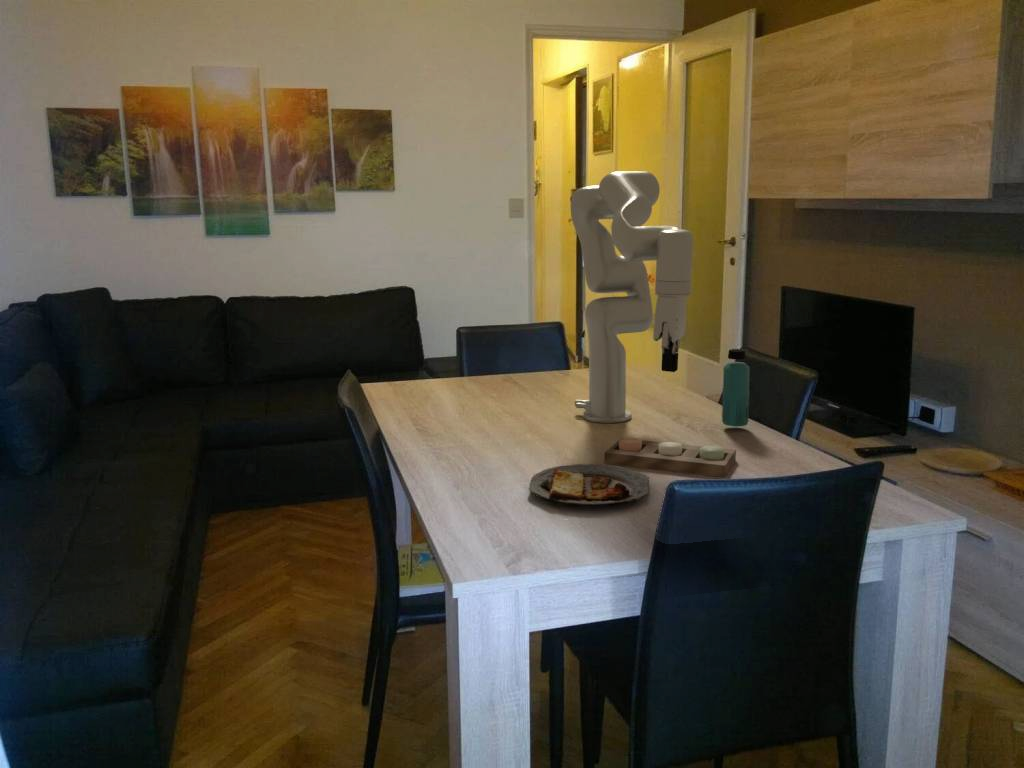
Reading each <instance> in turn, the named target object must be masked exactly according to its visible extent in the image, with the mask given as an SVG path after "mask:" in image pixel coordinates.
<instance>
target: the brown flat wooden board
mask: <svg viewBox="0 0 1024 768" xmlns="http://www.w3.org/2000/svg"><path fill="white" fill-rule="evenodd" d="M620 439H624V438H623V437H622V438H620ZM620 439H619V440H620ZM619 440H617V441H616V442H615V443H614V444H613V445H611V446H610V447H609V448H608V449H606V451H604V461H603V462H604V463H603V464H604V465H607V464H608V465H613V466H624V467H633V468H634V467H635V468H643V469H650V470H651V469H652V470H659V471H666V472H667V471H668V472H669V471H670V472H676V473H686V474H693V475H695V474H696V475H703V476H711V477H713V476H714V477H719V476H722V477H723V478H725V477H726V476H727V475H728V473H729V472H730V470H731V468H732V467H733V465H734V464H735V462H736V461H737V460H736V459H737V450H736V449H731V448H723V447H722V448H723V449H724V460H723V461H720V460H710V459H701V458H700V448H701V447H704V446H705V445H704V446H702V445H694V444H693V445H692V444H683V443H682V444H681V443H680V444H681V445H682V455H681V456H673V455H663V454H659V444H660V443H663V442H664V441H663V442H662V441H654V440H653V441H652V440H643V439H640V440H641V441H642V450H641V451H640V452H635V451H626V450H619ZM722 477H721V478H722Z"/></svg>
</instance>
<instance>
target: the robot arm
mask: <svg viewBox="0 0 1024 768" xmlns="http://www.w3.org/2000/svg"><path fill="white" fill-rule="evenodd" d="M659 183H660V182H659V181H658V179H657V177H656V176H655V175H654V174H653V173H651V172H650V171H645V170H644V171H643V170H642V171H640V170H638V171H634V170H632V171H631V170H629V171H626V170H625V171H623V170H622V171H621V170H619V171H614V172H610V173H607V174H606V175H605V176H604V177H602V179H601V180H600V182H599V185H588V186H583V187H580V188H578V189H576V190H575V191H574V192H573V194H572V196H571V199H570V216H571V220H572V224H573V227H574V230H575V232H576V235H577V237H578V240H579V242H580V246H581V255H582V261H583V268H584V276H585V280H586V281H585V282H586V285H587V288H588V290H590V292H592V293H594V294H613V293H614V294H615V293H616V294H618V293H626V295H627V296H623V295H622V296H618V295H617V296H607V297H606V296H603V297H599V298H595V299H593V300H591V301H590V302H588V304H587V305H586V307H585V311H584V312H585V313H584V316H585V317H584V318H585V324H586V329H587V338H588V367H589V368H588V369H589V370H588V372H589V373H588V377H589V378H588V382H589V383H588V384H589V385H588V387H589V388H588V389H589V390H588V392H589V393H588V394H589V395H588V399H587V398H586V400H583V399H579V398H578V399H577V398H576V399H575V401H574V406H575V408H576V409H584V411H583V413H582V415H583V418H584V419H585V420H587V421H589V422H593V423H600V424H601V423H603V424H604V423H605V424H607V423H609V424H612V423H613V424H614V423H622V422H627V421H629V420H630V419H632V412H631V410H627V409H626V406H627V405H626V400H627V398H626V395H627V394H626V393H627V392H626V390H627V389H626V387H627V386H626V385H627V383H626V381H627V378H626V377H627V352H626V347H625V346H624V345H623V343H622V342H621V341H620V340H619V338H618V335H621V334H632V333H634V334H635V333H643V332H646V331H648V330H649V329H651V326H652V325H653V336H652V339H653V341H655V342H658V341H659V340H661V371H662V372H670V373H675V372H677V371H678V367H679V366H678V365H679V348H680V347H679V346H680V339H681V338H683V336H684V335H685V334H686V327H687V326H686V325H687V297H690V296H691V295H692V274H693V272H692V271H693V254H694V253H693V252H694V234H693V232H691V230H687V229H682V228H680V227H678V226H676V225H645V224H646V222H648V221H649V219H650V217H651V215H652V211H653V206H654V205H655V204H656V203H657V201H658V199H659V197H660V192H661V191H660V190H661V189H660V184H659ZM599 220H612V221H611V227H610V229H611V230H610V231H611V233H610V231H609V230H608V229H607V227H605V225H604V224H602V223H601V221H599ZM644 225H645V226H644ZM616 250H617V251H618V252H619V253H620V254H621V255H618V254H617V253H616ZM646 261H649V262H650V261H655V262H656V263H655V264H656V266H655V290H654V294H655V295H656V296H657V299H656V304H655V314H654V309H653V301H652V296H651V295H652V294H651V290H650V288H651V287H650V282H649V276H648V270H647V267H646V265H645V262H646ZM653 321H654V323H653Z"/></svg>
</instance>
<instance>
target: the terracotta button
mask: <svg viewBox="0 0 1024 768" xmlns="http://www.w3.org/2000/svg"><path fill="white" fill-rule="evenodd" d="M641 440H642V439H639V438H635V437H626V438H624V439H621V438H619V450H626V451H635V452H640V451H641V450H642V441H641Z"/></svg>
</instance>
